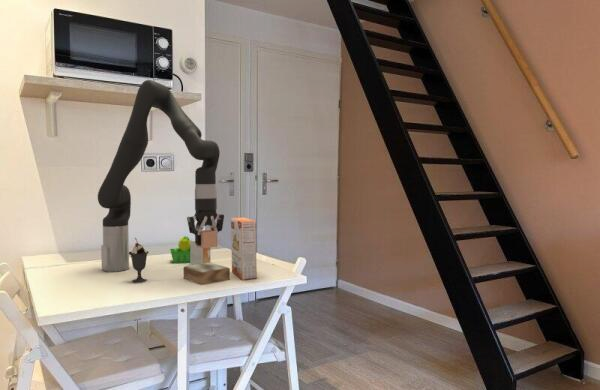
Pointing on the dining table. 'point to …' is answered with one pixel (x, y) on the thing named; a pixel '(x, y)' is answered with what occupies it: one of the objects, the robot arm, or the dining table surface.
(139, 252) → the sundae
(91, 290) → the dining table surface
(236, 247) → the cracker box
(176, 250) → the fruit basket
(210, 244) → the cube
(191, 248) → the small box
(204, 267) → the block
